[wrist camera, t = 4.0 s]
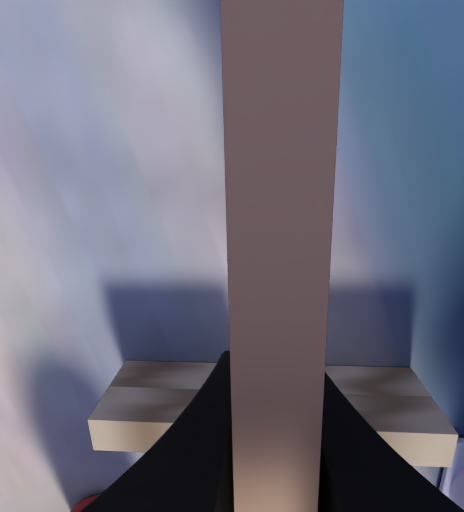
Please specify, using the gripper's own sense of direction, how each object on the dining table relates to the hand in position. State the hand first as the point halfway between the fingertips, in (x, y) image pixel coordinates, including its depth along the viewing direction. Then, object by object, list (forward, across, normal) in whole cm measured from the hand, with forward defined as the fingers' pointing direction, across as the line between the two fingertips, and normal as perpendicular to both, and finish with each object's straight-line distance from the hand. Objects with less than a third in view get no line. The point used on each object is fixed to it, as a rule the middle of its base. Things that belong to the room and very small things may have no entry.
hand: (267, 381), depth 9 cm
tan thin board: (+3, 0, -3) cm, 4 cm away
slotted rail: (+10, 0, +8) cm, 12 cm away
